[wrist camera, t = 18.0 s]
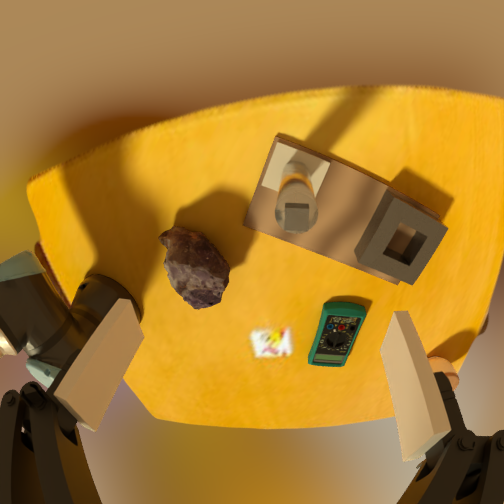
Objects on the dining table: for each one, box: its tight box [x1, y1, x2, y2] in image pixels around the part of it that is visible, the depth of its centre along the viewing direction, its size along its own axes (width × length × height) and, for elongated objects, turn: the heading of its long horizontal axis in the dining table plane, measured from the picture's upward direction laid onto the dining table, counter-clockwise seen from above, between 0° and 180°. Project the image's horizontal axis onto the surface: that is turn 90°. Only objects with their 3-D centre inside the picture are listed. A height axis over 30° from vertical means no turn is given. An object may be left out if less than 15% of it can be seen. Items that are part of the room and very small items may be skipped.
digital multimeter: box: [308, 302, 366, 367], centre depth 46 cm, size 7×15×3 cm, turn 176°
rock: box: [159, 226, 230, 309], centre depth 39 cm, size 12×9×10 cm
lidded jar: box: [428, 356, 459, 391], centre depth 45 cm, size 11×11×9 cm
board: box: [243, 136, 440, 285], centre depth 36 cm, size 26×13×1 cm, turn 71°
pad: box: [262, 142, 330, 197], centre depth 34 cm, size 7×6×1 cm
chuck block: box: [354, 190, 448, 285], centre depth 34 cm, size 10×10×3 cm
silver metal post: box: [275, 161, 318, 234], centre depth 27 cm, size 3×3×15 cm
